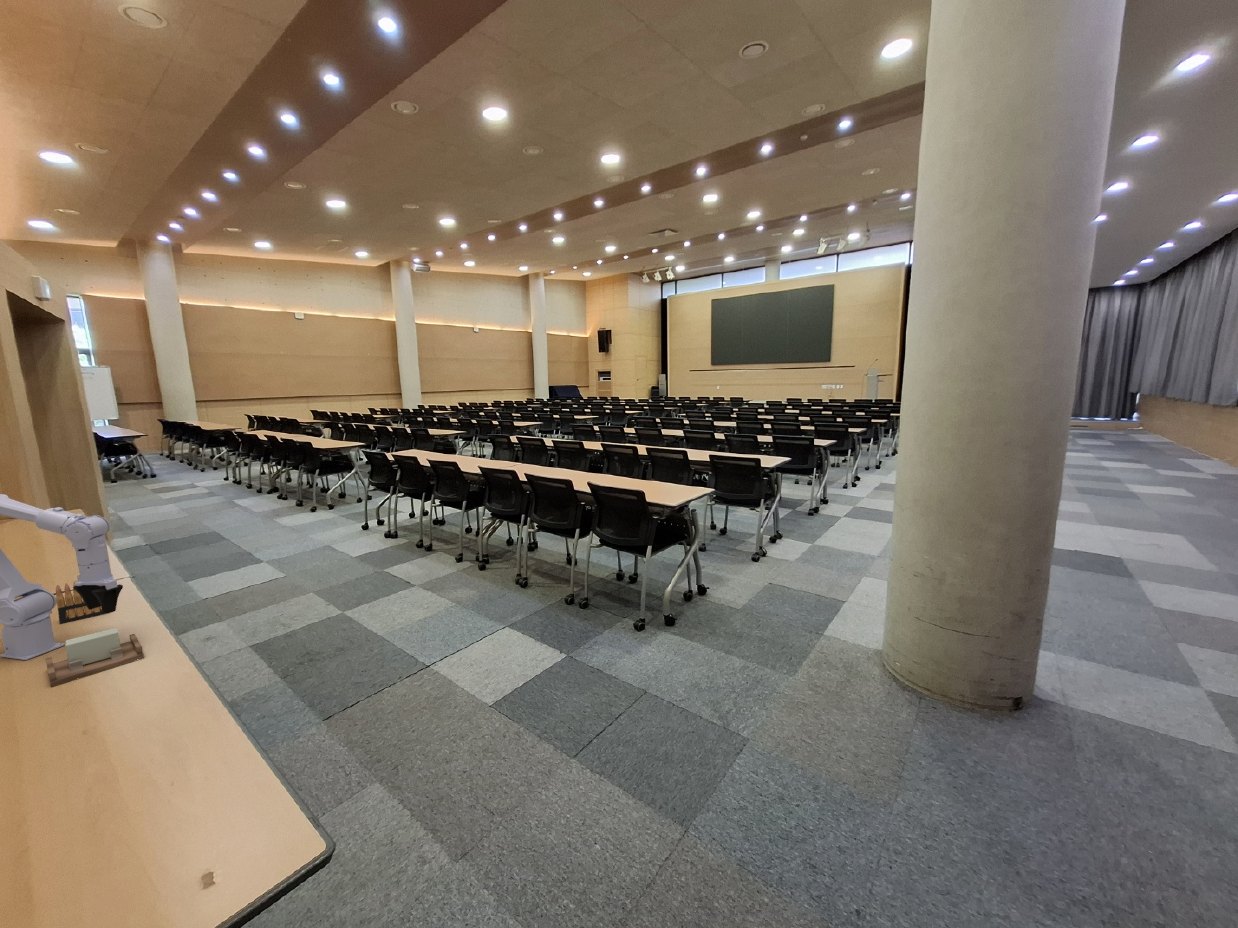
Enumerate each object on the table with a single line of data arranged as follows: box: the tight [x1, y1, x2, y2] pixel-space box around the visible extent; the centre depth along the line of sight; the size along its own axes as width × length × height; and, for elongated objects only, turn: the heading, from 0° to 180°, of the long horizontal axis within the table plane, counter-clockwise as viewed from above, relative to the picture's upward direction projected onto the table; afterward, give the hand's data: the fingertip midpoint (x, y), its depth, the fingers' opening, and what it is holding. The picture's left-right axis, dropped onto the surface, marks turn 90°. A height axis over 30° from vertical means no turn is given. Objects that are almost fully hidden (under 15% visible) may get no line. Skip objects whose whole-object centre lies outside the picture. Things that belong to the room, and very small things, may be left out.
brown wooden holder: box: [45, 633, 145, 688], centre depth 125 cm, size 12×16×4 cm
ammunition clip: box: [55, 581, 105, 625], centre depth 151 cm, size 11×2×12 cm, turn 136°
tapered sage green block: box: [65, 627, 121, 667], centre depth 125 cm, size 4×9×6 cm, turn 137°
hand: (102, 610), depth 133 cm, fingers open, 7 cm apart
